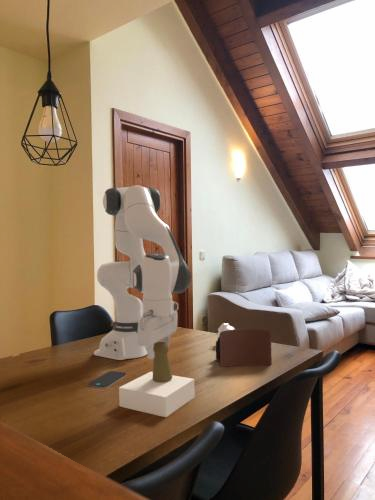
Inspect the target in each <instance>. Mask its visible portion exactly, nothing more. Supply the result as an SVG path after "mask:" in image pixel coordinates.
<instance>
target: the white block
mask: <svg viewBox="0 0 375 500" xmlns="http://www.w3.org/2000/svg"><path fill="white" fill-rule="evenodd" d="M118 393H119V395H118V397H119V398H118V399H119V400H118V401H119V407H121V408H125V409H129V410H133V411H138V412H142V413H145V414H146V413H147V414H151V415H155V416H159V417H163V418H168V417H169V416H171V414H173V413H174V412H176V411H177V410H178V409H180V408H181V407H183V406H185V405H186V404H187V403H189V402H190V401H192V400H193V399H194V398H196V395H195V393H196V390H195V378H190V377H185V376H179V375H173V374H172V379H171V380H169V381H167V382H155V381H153V371H149V372H147V373H145V374H142V375H141V376H139V377H137V378H135V379H132V381H129V382H128V383H125V384H123V385H121V386H120V387H118Z"/></svg>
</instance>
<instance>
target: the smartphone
mask: <svg viewBox="0 0 375 500" xmlns="http://www.w3.org/2000/svg"><path fill="white" fill-rule="evenodd" d="M126 376H127V372H126V371H125V372H124V371H116V370H110V371H107V372H106V373H104V374H102V375H100V376H98V377H96V378H95V379H93V380H91V381H89V382H88V383H87V386H88V387H90V386H91V387H92V388H99V389H106V388H109V387H111V386H113V385H114V384H115V383H117V382H119V381H120V380H121V379H123V378H125V377H126Z"/></svg>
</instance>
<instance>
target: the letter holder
mask: <svg viewBox="0 0 375 500" xmlns="http://www.w3.org/2000/svg"><path fill="white" fill-rule="evenodd" d="M215 359H216V361H217V364H218V365H219V367H220V368H222V367H223V368H225V367H245V366H246V367H247V366H265V365H266V366H267V365H268V366H269V365H272V363H273V361H272V332H271V330H270V329H266V328H255V327H254V328H253V327H251V328H249V327H248V328H247V327H246V328H245V327H243V328H235V329H233V330H227V331H222V332H220V335H219V337H218V338H217V340H216V342H215Z"/></svg>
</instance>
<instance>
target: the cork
mask: <svg viewBox="0 0 375 500" xmlns="http://www.w3.org/2000/svg"><path fill="white" fill-rule="evenodd" d="M169 349H170V346H169V347H168V345H167V343H165V342H163V341H158V342H156V343H155V344H154V347H153V350H154V352H155V358H154V359H152V360H153V361H152V362H153V363H152V364H153V365H152V366H153V367H152V372H153V381H155V382H167V381H169V380H171V379H172V375H173V373H172V369H171V368H172V367H171V365H170V359H169V355H168V353H169Z"/></svg>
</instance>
